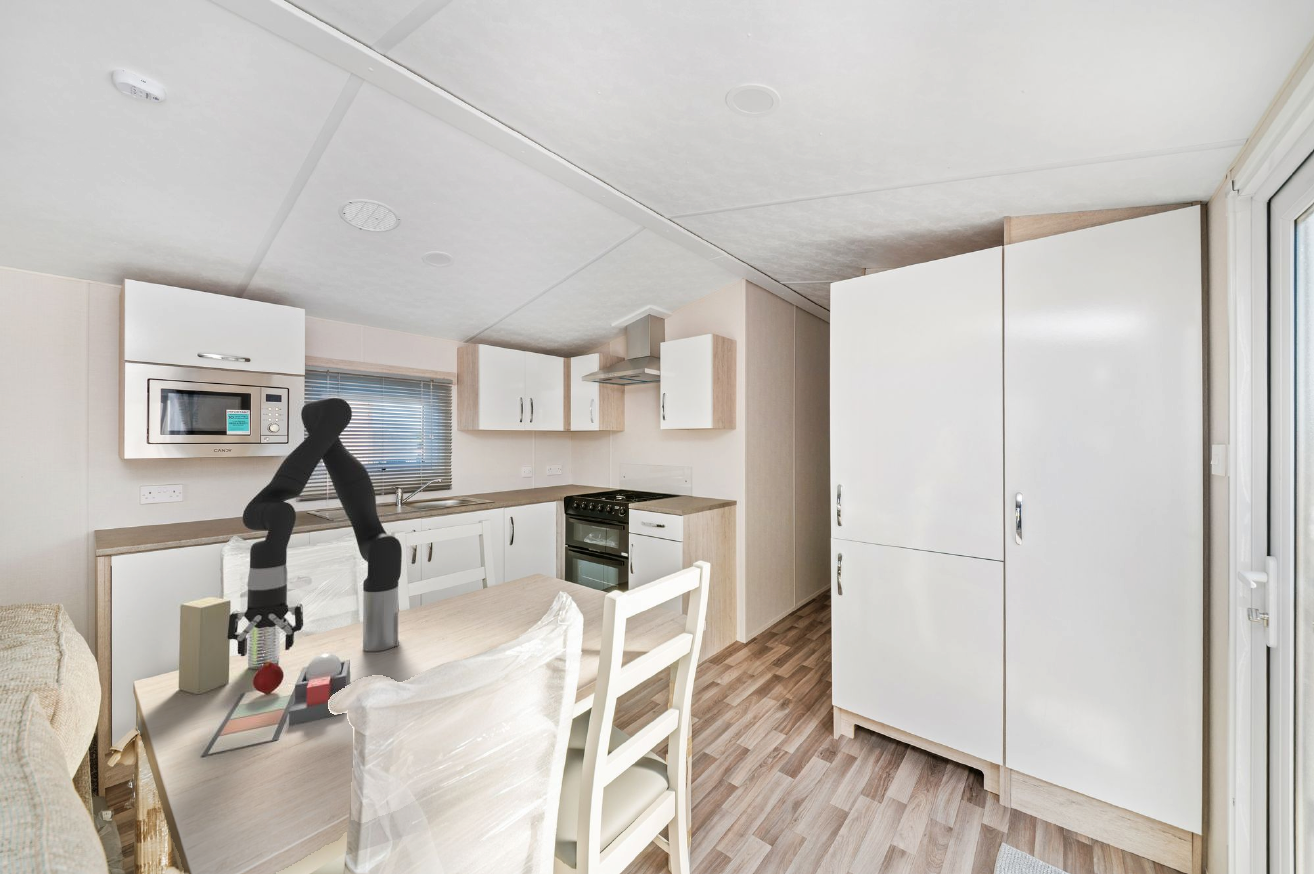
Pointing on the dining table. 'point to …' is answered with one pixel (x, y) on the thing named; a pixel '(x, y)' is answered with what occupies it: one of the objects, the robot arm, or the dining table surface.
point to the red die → (318, 690)
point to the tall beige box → (204, 645)
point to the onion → (268, 678)
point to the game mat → (253, 720)
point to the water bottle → (263, 646)
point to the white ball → (323, 667)
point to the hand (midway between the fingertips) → (266, 651)
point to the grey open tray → (317, 711)
